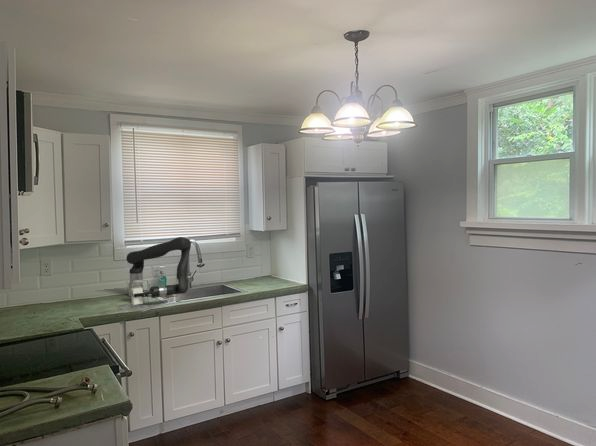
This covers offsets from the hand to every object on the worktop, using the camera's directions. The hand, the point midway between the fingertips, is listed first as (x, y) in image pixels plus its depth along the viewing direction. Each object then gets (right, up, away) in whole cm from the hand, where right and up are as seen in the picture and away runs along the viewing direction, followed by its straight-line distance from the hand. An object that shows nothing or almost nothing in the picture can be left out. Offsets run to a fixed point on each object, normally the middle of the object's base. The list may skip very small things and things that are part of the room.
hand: (132, 295), depth 293 cm
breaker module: (+2, -6, +2) cm, 7 cm away
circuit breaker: (-2, -8, +23) cm, 24 cm away
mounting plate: (+2, -9, +2) cm, 9 cm away
